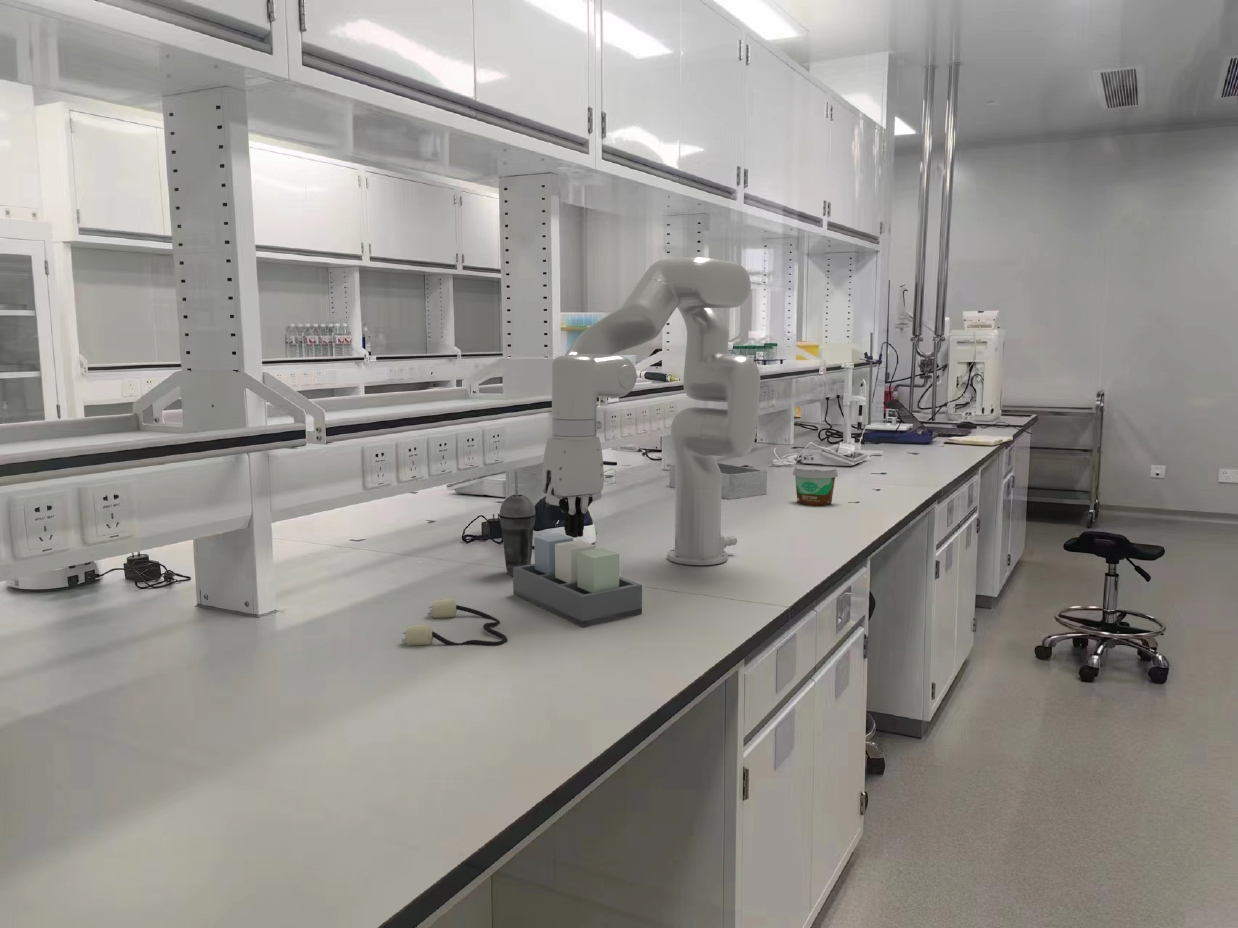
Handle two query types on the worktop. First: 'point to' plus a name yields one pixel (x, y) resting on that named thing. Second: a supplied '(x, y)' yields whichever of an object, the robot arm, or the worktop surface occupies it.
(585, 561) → the key sage
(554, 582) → the box
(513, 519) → the beverage cup
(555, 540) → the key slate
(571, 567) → the key ivory
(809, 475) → the food container
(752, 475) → the grey storage bin
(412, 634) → the cable
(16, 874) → the worktop surface
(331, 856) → the worktop surface
